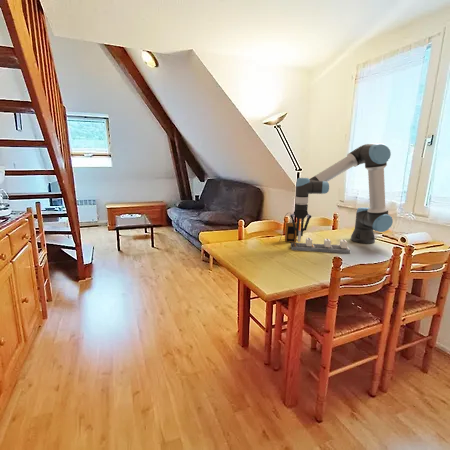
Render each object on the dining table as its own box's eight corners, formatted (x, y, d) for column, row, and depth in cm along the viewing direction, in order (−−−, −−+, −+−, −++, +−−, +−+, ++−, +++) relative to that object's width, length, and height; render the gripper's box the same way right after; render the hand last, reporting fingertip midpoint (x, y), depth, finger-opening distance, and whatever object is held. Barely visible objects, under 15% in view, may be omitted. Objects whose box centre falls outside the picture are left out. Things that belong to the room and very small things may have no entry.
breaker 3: (344, 246, 179) (345, 239, 178) (346, 248, 175) (347, 241, 174) (339, 245, 180) (340, 239, 179) (341, 248, 175) (342, 241, 174)
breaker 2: (328, 245, 181) (329, 238, 180) (330, 247, 176) (331, 240, 175) (323, 244, 181) (324, 238, 180) (325, 247, 176) (325, 240, 175)
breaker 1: (310, 244, 182) (311, 237, 181) (311, 246, 178) (312, 239, 177) (305, 243, 183) (306, 237, 182) (306, 246, 178) (307, 239, 177)
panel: (345, 248, 182) (346, 245, 182) (350, 253, 172) (350, 250, 172) (290, 245, 187) (290, 242, 187) (291, 250, 178) (291, 246, 177)
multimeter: (299, 238, 203) (301, 210, 198) (301, 242, 193) (303, 213, 189) (278, 237, 204) (279, 210, 200) (279, 241, 195) (281, 212, 190)
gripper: (311, 203, 178) (309, 239, 184) (290, 202, 180) (288, 239, 186) (313, 204, 171) (310, 243, 176) (290, 204, 173) (288, 242, 178)
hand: (299, 241), depth 181 cm, fingers closed
